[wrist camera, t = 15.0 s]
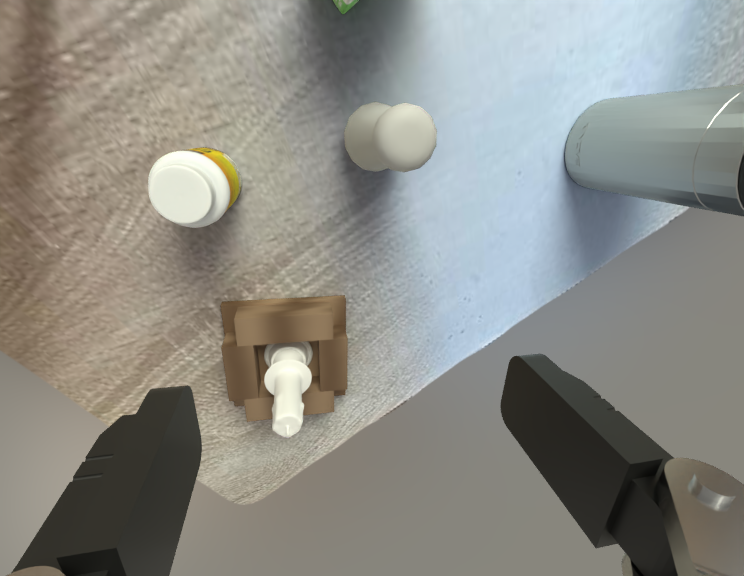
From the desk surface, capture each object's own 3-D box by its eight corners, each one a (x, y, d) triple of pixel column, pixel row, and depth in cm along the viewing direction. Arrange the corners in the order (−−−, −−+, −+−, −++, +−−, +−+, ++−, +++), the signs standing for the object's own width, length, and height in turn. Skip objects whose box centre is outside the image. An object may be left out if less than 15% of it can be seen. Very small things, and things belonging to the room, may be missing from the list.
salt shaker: (399, 167, 37) (449, 183, 25) (343, 170, 36) (367, 188, 24) (399, 103, 35) (454, 87, 23) (339, 104, 34) (364, 88, 22)
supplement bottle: (224, 137, 33) (198, 139, 24) (252, 196, 35) (239, 218, 26) (165, 159, 33) (115, 170, 23) (198, 217, 35) (164, 247, 26)
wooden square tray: (344, 295, 41) (349, 310, 38) (344, 389, 46) (348, 411, 42) (222, 301, 39) (214, 319, 35) (235, 400, 44) (230, 424, 40)
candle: (313, 371, 43) (320, 451, 32) (265, 375, 42) (256, 459, 31) (312, 331, 41) (319, 402, 30) (262, 334, 40) (251, 409, 29)
